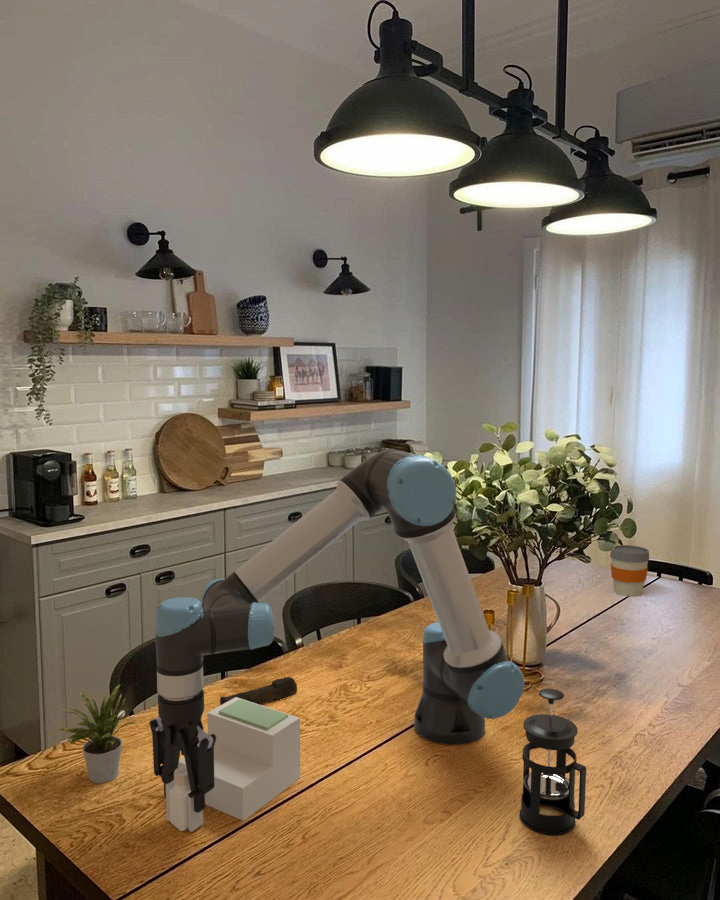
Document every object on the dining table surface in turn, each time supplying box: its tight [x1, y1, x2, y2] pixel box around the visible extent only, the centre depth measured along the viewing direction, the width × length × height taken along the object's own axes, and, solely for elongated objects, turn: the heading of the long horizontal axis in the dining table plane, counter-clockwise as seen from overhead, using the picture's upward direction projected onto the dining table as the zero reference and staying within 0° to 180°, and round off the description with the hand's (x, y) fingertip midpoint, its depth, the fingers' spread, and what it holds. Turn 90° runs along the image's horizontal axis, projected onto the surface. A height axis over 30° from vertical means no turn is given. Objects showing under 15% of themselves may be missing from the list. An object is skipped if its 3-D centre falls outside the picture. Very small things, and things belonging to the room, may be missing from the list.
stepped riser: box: [178, 697, 301, 822], centre depth 139 cm, size 16×16×12 cm
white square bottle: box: [169, 766, 191, 832], centre depth 127 cm, size 4×4×10 cm
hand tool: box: [219, 676, 298, 706], centre depth 172 cm, size 19×4×5 cm, turn 121°
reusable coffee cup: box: [609, 544, 650, 598], centre depth 255 cm, size 13×12×15 cm
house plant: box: [56, 683, 136, 784], centre depth 143 cm, size 14×14×16 cm
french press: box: [519, 687, 587, 837], centre depth 128 cm, size 12×9×23 cm
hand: (185, 821), depth 128 cm, fingers closed on white square bottle, 4 cm apart
